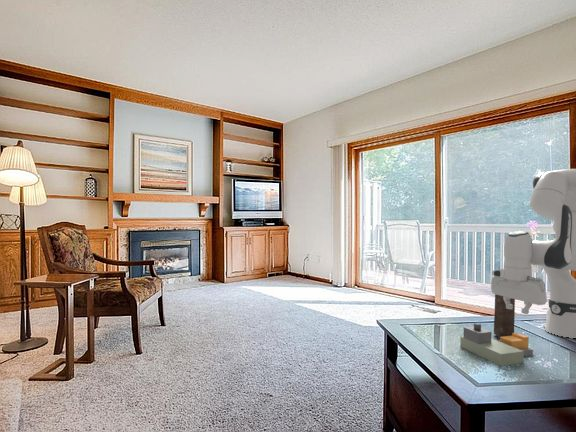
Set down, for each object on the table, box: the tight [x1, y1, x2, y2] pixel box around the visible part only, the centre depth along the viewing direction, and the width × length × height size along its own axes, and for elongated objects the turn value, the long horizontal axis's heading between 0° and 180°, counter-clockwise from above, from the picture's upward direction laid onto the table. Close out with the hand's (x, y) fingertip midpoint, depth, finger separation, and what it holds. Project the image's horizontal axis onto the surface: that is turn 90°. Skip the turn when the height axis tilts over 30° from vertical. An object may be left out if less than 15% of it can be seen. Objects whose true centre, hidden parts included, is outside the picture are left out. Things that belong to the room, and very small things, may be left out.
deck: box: [460, 322, 534, 367], centre depth 129 cm, size 20×18×10 cm
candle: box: [493, 294, 516, 338], centre depth 146 cm, size 8×7×20 cm
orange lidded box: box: [499, 332, 529, 350], centre depth 131 cm, size 8×5×6 cm, turn 106°
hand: (517, 311), depth 131 cm, fingers open, 5 cm apart
